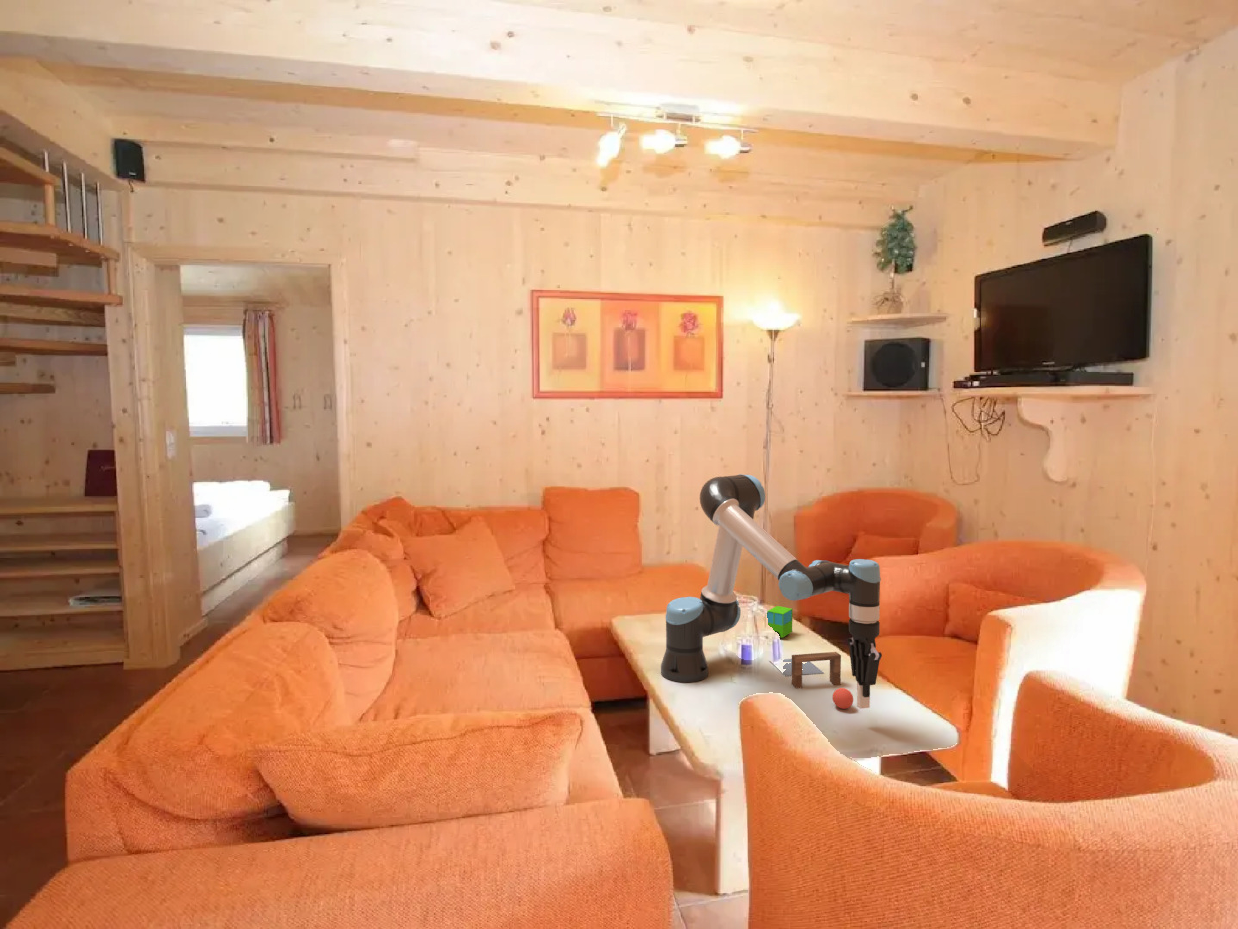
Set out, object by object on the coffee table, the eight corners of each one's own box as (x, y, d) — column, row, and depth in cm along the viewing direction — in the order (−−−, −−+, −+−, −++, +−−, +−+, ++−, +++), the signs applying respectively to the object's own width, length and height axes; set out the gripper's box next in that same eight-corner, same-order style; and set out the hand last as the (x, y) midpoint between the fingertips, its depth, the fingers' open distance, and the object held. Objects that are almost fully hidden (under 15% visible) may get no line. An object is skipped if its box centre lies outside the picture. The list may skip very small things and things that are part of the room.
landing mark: (785, 676, 203) (785, 675, 202) (769, 661, 215) (769, 660, 215) (823, 673, 205) (823, 672, 205) (805, 658, 217) (805, 657, 217)
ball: (838, 713, 177) (838, 693, 177) (828, 704, 183) (829, 685, 182) (856, 711, 178) (857, 692, 178) (846, 702, 184) (847, 684, 183)
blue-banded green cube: (761, 627, 250) (761, 601, 250) (793, 634, 242) (793, 608, 241) (748, 634, 243) (748, 608, 242) (781, 641, 234) (781, 614, 233)
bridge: (840, 684, 196) (840, 655, 195) (795, 688, 194) (796, 658, 193) (835, 680, 199) (836, 651, 198) (791, 684, 196) (791, 655, 196)
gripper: (891, 626, 163) (890, 716, 164) (863, 611, 176) (863, 695, 177) (864, 628, 162) (863, 719, 163) (838, 613, 174) (837, 697, 176)
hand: (863, 706), depth 170 cm, fingers closed
